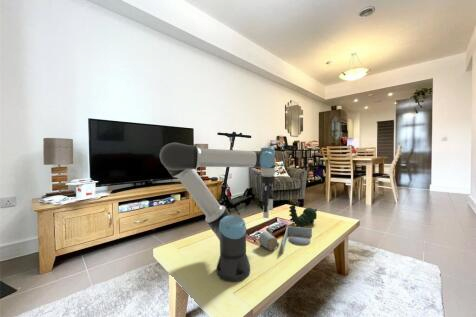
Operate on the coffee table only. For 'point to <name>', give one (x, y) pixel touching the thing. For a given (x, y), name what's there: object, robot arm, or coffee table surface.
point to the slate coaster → (299, 240)
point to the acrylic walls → (296, 233)
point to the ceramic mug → (268, 241)
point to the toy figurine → (302, 215)
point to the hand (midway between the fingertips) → (268, 213)
